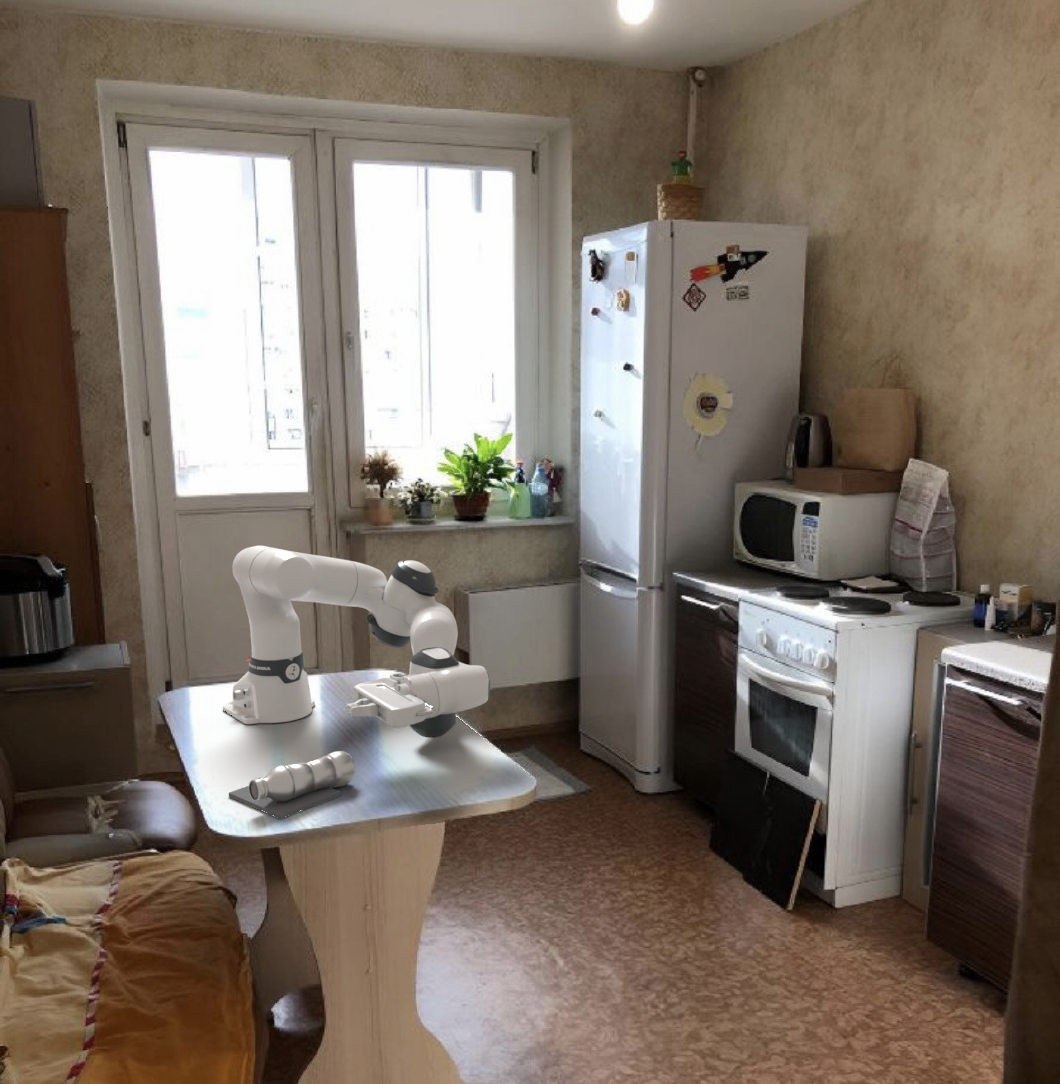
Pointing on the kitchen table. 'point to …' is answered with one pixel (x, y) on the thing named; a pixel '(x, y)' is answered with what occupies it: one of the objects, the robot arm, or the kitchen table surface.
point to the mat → (289, 806)
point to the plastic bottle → (304, 777)
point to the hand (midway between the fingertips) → (348, 711)
